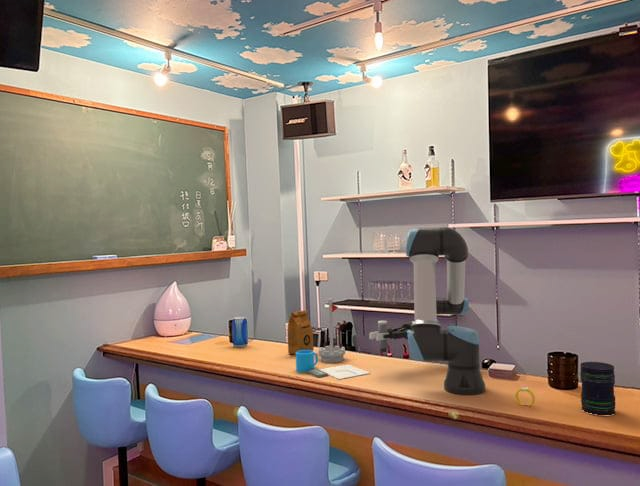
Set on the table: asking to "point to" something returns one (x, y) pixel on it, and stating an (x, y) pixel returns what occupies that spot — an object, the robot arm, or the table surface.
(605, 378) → the storage jar
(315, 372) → the dark grey flat block
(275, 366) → the table surface
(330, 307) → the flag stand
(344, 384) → the table surface
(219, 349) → the table surface
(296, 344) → the coffee package
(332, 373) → the paper
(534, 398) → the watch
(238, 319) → the beer can
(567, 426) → the table surface
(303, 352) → the mug
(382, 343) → the marker
